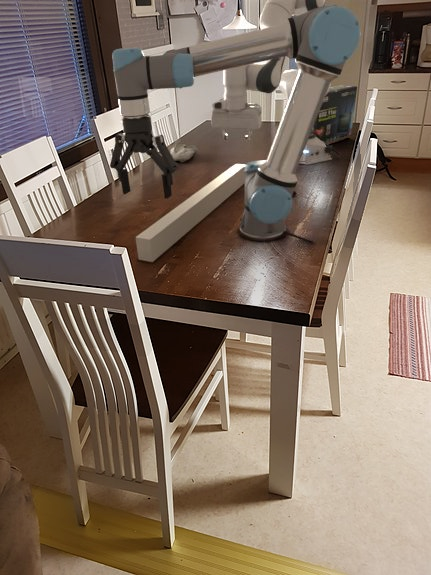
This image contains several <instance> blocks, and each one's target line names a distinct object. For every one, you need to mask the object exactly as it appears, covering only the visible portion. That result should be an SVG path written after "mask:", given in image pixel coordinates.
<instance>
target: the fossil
mask: <svg viewBox="0 0 431 575" xmlns="http://www.w3.org/2000/svg"><path fill="white" fill-rule="evenodd" d="M169 152H170V154H171V156H172V157H173V159H174V161H175V162H177V161H179V162H180V163H185V162H187V161H188V160H190V159H191V158H192V157H193V156H194V155H197V154H198V153H199V150H198V148H197V146H195V145H188V146H187V145H186V143H184V142H183V143H181V142H176V143H175V145H174V146H173V147H172V148H171V149H170V150H169Z"/></svg>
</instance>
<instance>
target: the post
mask: <svg viewBox="0 0 431 575" xmlns="http://www.w3.org/2000/svg"><path fill="white" fill-rule="evenodd" d="M245 165H246V164H244V163H242V164H241V163H235V164H233V165H232V166H230V167H228V169H226V170H225V171H224V172H222V173H220V175H218V176H217V177H215V178H214V179H213V180H211V181H210V182H209V183H207V184H206V185H204V186H203V187H202V188H200V189H199V190H198V191H196V192H195V193H194V194H192V195H190V197H188V198H187V199H186V200H184V201H183V202H181V203H180V204H179V205H177V206H175V208H174V209H172V210H170V211H169V212H168V213H167V214H165V215H164V216H162V217H161V218H160V219H158V220H157V221H156V222H154V223H153V224H151V225H150V226H149V227H147V228H146V229H145V230H143V231H142V232H141V233H139V234H137V235H136V236H135V243H136V251H137V259H138V260H139V261H143V262H149V263H153V262H155V261H156V260H157V259H158V258H160V257H161V256H162V255H163V254H164V253H166V252H167V251H168V250H169V249H170V248H171V247H173V245H174V244H176V243H177V242H178V241H179V240H181V239H182V238H183V237H184V236H185V235H186V234H187V233H189V232H190V231H191V230H192V229H193V228H194V227H196V226H197V225H198V224H199V223H200V222H201V221H203V219H205V218H206V217H207V216H208V215H209V214H211V213H212V212H213V211H214V210H215V209H216V208H218V207H219V206H220V205H222V203H224V202H225V201H226V200H227V199H228V198H230V196H232V195H233V194H234V193H235V192H236V191H237V190H239V189H240V188H241V187H242V186H244V185H245V174H244V171H245Z"/></svg>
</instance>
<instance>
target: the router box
mask: <svg viewBox="0 0 431 575" xmlns="http://www.w3.org/2000/svg"><path fill="white" fill-rule="evenodd" d="M357 93H358V86H356V85H350V84H339V85H338V84H337V85H334V86H330V90H329V92H328V93H327V95H326V96H325V98H324V101H323V103H322V106H321V108H320V111H319V113H318V116H317V118H316V121H315V123H314V127H313V128H314V129H315V130H320V131H321V134H320V135H317V134H316V137H317V138H318V139H320V140H321V141H322V142H323V143H324V144H325V143H328V142H331V141H333V140H336V139H338V138H341V137H344V136H347V135H351V136H352V133H353V132H352V131H353V125H354V115H355V109H356V99H357Z"/></svg>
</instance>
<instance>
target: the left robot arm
mask: <svg viewBox="0 0 431 575" xmlns="http://www.w3.org/2000/svg"><path fill="white" fill-rule="evenodd" d="M360 40H361V26H360V22H359V20H358V18H357V16H356V15H355V14H354V12H352V10H350V9H348V8H346V7H344V6H342V5H338V4H331V5H330V4H329V5H327V6H326V5H324V6H322V7H318V8H315V9H313V10H311V11H308V12H306V13H304V14H301V15H298V16H297V15H294V16H292V17H291V18H288V19H285V21H284V22H283V24H281V25H277V26H273V27H269V28H264V29H261V28H259V29H256V30H252V31H249V32H245V33H240V34H235V35H231V36H227V37H223V38H218V39H215V40H211V41H207V42H202V43H198V44H193V45H189V46H185V47H182V48H177V49H176V48H175V49H174V48H173V49H169V50H165V52H164V53H163V54H159V55H144V52H143V49H142V48H141V47H123V48H116V49H114V50H113V51H112V54H111V56H112V57H111V58H112V65H113V66H112V67H113V70H112V71H113V72H112V73H113V75H114V80H115V86H116V93H117V98H118V100H117V101H118V106H119V113H120V116H122V118H121V125H122V132H120V133H118V134H116V135H114V147H113V151H112V156H111V160H110V162H109V163H110V164H109V167H110V169H115V171H116V173H117V177H118V182H120V183H121V190H122V194H123V195H127V194H128V193H130V192H131V190H132V189H131V185H130V179H129V173H128V168H126V165H127V164H128V162H129V160H130V159H131V157H132V155H133V153H134V154H137V153H140V154H146V155H147V156H149V157H150V158H151V159H152V161H153V162H154V163H155V165H156V166H157V167H158V168H159V170H161V172H162V173H163V174H161V180H162V187H163V188H162V189H163V196H164V199H167V200H168V199H169V198H170V197H172V196H173V193H172V186H173V185H174V181H173V174H174V173H175V172H177V171H178V170H179V167H178V165H177V163H176V161H174V159H173V157H172V156H171V154H170V152H169V151H170V150H169V148H168V147H167V144H166V141H165V137H164V135H163V134H159V135H155V136H154V134H153V122H152V116H151V115H150V113H151V110H150V108H151V107H150V102H149V101H150V100H149V94H148V93H149V92H148V90H160V89H161V90H163V89H183V88H189V87H190V88H191V87H193V86H194V84H195V78H196V77H200V76H204V75H209V74H213V73H218V72H223V70H227V69H232V68H236V67H240V66H245V65H249V64H254V63H262V62H268V61H269V60H271V59H276V58H280V57H284V56H286V57H287V58H288V59H290V60H293V59H295V64H296V67H297V70H298V73H297V75H296V78H295V81H294V84H293V87H292V90H291V92H290V95H289V98H288V101H287V100H286V104H285V107H284V109H283V113H282V114H281V117H280V121H279V124H278V127H277V129H276V132H275V135H274V137H273V139H272V143H271V146H270V149H269V152H268V154H267V157H266V159H261V160H259V159H258V160H251V161H248V162H246V163H245V164H244V165H245V171H244V174H245V183H244V211H243V213H242V216H241V217H240V218H239V225H238V232H239V235H240V236H241V237H242V238H244V239H247V240H250V241H254V242H271V241H277V240H279V239H281V238H283V237H285V235H287V236H289V237H293V238H296V239H298V240H300V241H303V242H306V243H310V244H313V243H314V240H312V239H307V238H305V237H302V236H300V235H298V234H295V233H291V232H289V231H287V223H286V221H285V219H286V218H287V217H288V216H289V215H290V213H291V211H292V209H293V202H294V200H293V196H292V194H293V192H294V191H295V189H296V187H297V184H298V182H299V179H298V176H297V174H296V172H297V169H298V167H299V165H300V163H299V162H300V159H301V157H302V154H303V151H304V149H305V146H306V144H307V141H308V139H309V136H310V134H311V131H312V129H313V126H314V123H315V121H316V118H317V116H318V113H319V111H320V108H321V106H322V103H323V101H324V98H325V95H326V93H327V90H328V88H329V85H330V83H331V84H332V82H333V81H334V80H336V79H338V78H340V76H341V74H342V71H343V69H344V67H345V64H346V62H347V61H348V60H349V59H350V58H352V56H353V55H354V53H355V52H356V50H357V49H358V46H359V43H360ZM123 132H124V133H123ZM124 143H126V145H127V146H126V147H125V149H124V146H125V145H124ZM155 145H156V146H155ZM123 149H124V153H123V154H122V152H123Z"/></svg>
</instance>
